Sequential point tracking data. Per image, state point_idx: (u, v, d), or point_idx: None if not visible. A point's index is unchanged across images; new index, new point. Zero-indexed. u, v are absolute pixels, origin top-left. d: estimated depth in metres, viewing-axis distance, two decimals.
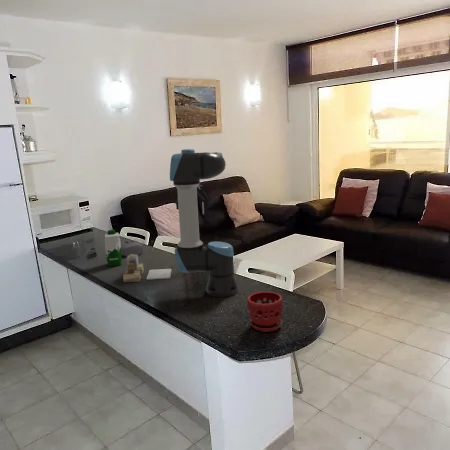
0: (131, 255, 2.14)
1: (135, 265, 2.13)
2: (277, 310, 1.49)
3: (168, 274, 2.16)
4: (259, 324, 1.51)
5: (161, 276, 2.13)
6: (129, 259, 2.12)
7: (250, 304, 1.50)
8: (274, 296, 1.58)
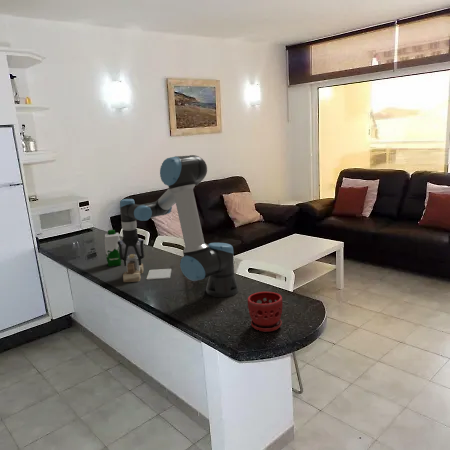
0: (131, 255, 2.14)
1: (135, 265, 2.13)
2: (277, 310, 1.49)
3: (168, 274, 2.16)
4: (259, 324, 1.51)
5: (161, 276, 2.13)
6: (129, 259, 2.12)
7: (250, 304, 1.50)
8: (274, 296, 1.58)
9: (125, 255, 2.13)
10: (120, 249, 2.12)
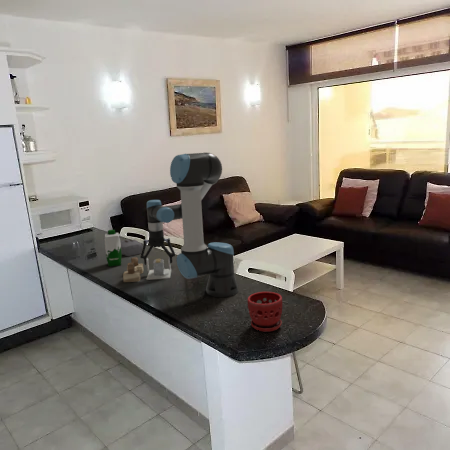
0: (157, 260, 2.15)
1: (161, 270, 2.15)
2: (277, 310, 1.49)
3: (168, 274, 2.16)
4: (259, 324, 1.51)
5: (161, 276, 2.13)
6: (156, 264, 2.14)
7: (250, 304, 1.50)
8: (274, 296, 1.58)
9: (147, 254, 2.14)
10: (143, 248, 2.13)
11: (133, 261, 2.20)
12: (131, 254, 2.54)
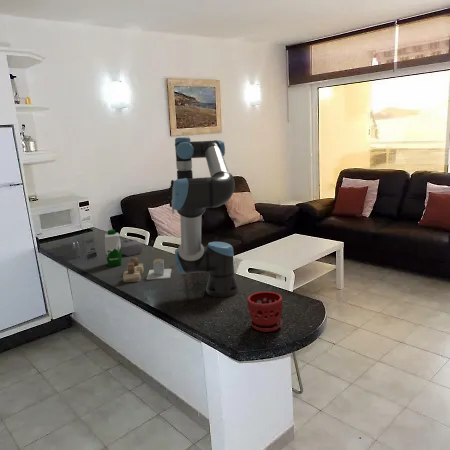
0: (157, 260, 2.15)
1: (161, 270, 2.15)
2: (277, 310, 1.49)
3: (168, 274, 2.16)
4: (259, 324, 1.51)
5: (161, 276, 2.13)
6: (156, 264, 2.14)
7: (250, 304, 1.50)
8: (274, 296, 1.58)
9: None
10: (170, 189, 1.98)
11: (133, 261, 2.20)
12: (131, 254, 2.55)
